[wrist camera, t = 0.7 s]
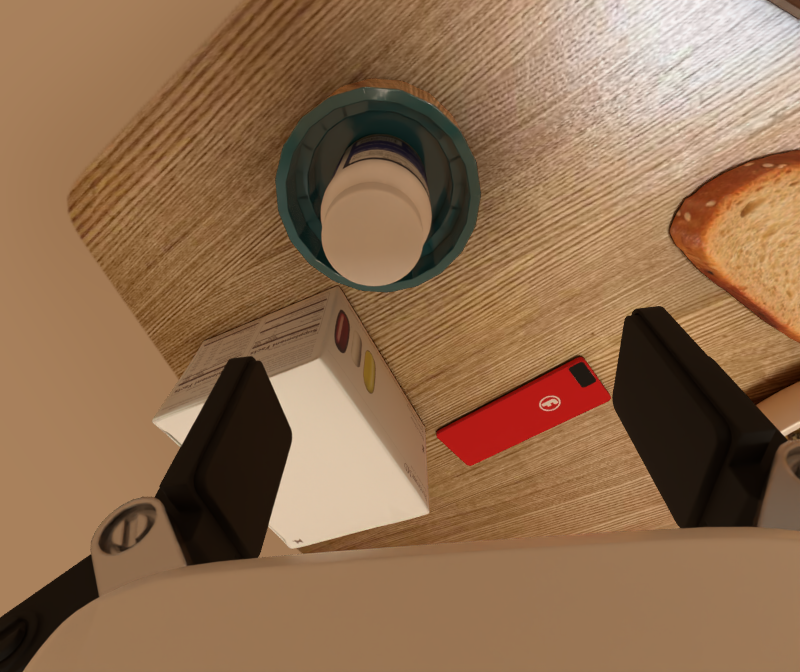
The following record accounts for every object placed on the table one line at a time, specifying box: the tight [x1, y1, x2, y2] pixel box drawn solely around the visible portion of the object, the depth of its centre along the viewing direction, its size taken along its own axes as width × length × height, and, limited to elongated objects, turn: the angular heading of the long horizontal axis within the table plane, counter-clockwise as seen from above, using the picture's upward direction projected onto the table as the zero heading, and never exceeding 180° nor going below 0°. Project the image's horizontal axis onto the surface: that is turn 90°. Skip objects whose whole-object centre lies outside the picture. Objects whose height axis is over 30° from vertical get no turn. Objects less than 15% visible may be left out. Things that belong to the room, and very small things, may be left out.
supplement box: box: [152, 286, 429, 548], centre depth 35 cm, size 17×13×9 cm
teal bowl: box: [275, 78, 481, 292], centre depth 26 cm, size 11×11×5 cm
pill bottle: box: [321, 134, 432, 286], centre depth 24 cm, size 6×6×10 cm
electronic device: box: [436, 357, 611, 466], centre depth 40 cm, size 6×1×15 cm
